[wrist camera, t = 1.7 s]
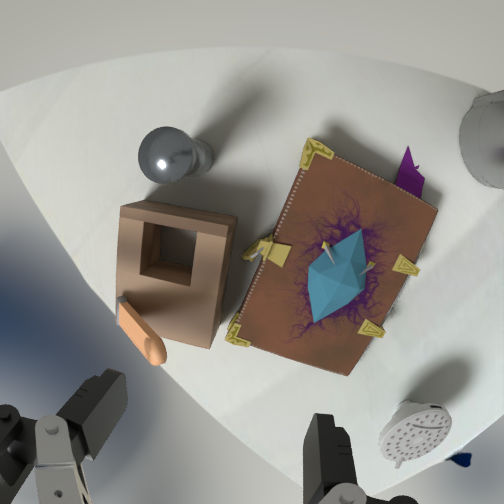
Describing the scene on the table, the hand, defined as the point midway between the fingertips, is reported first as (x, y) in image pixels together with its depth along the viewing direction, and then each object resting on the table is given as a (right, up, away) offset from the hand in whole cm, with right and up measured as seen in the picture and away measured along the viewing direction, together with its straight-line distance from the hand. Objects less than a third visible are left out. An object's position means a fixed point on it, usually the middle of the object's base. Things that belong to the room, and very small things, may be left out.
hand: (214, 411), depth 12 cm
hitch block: (-6, +5, +21) cm, 22 cm away
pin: (-4, +16, +18) cm, 24 cm away
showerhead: (+22, -14, +23) cm, 35 cm away
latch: (-8, 0, +15) cm, 17 cm away
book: (+10, +7, +19) cm, 23 cm away
